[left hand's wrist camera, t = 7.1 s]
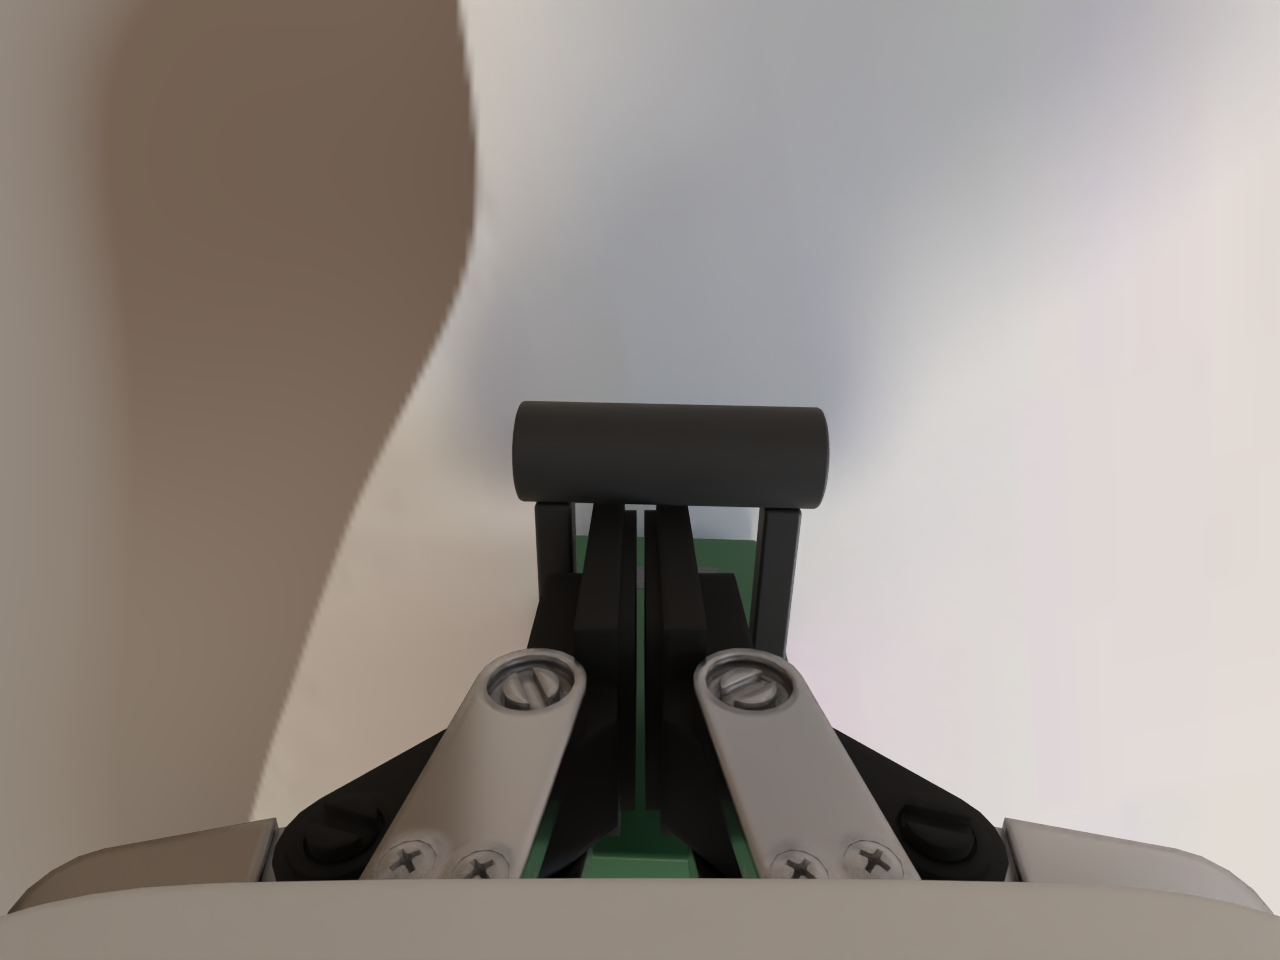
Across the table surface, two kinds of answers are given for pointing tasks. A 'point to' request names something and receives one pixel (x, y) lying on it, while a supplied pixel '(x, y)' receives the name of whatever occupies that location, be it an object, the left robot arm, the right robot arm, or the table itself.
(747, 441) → the drawer
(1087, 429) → the table surface
